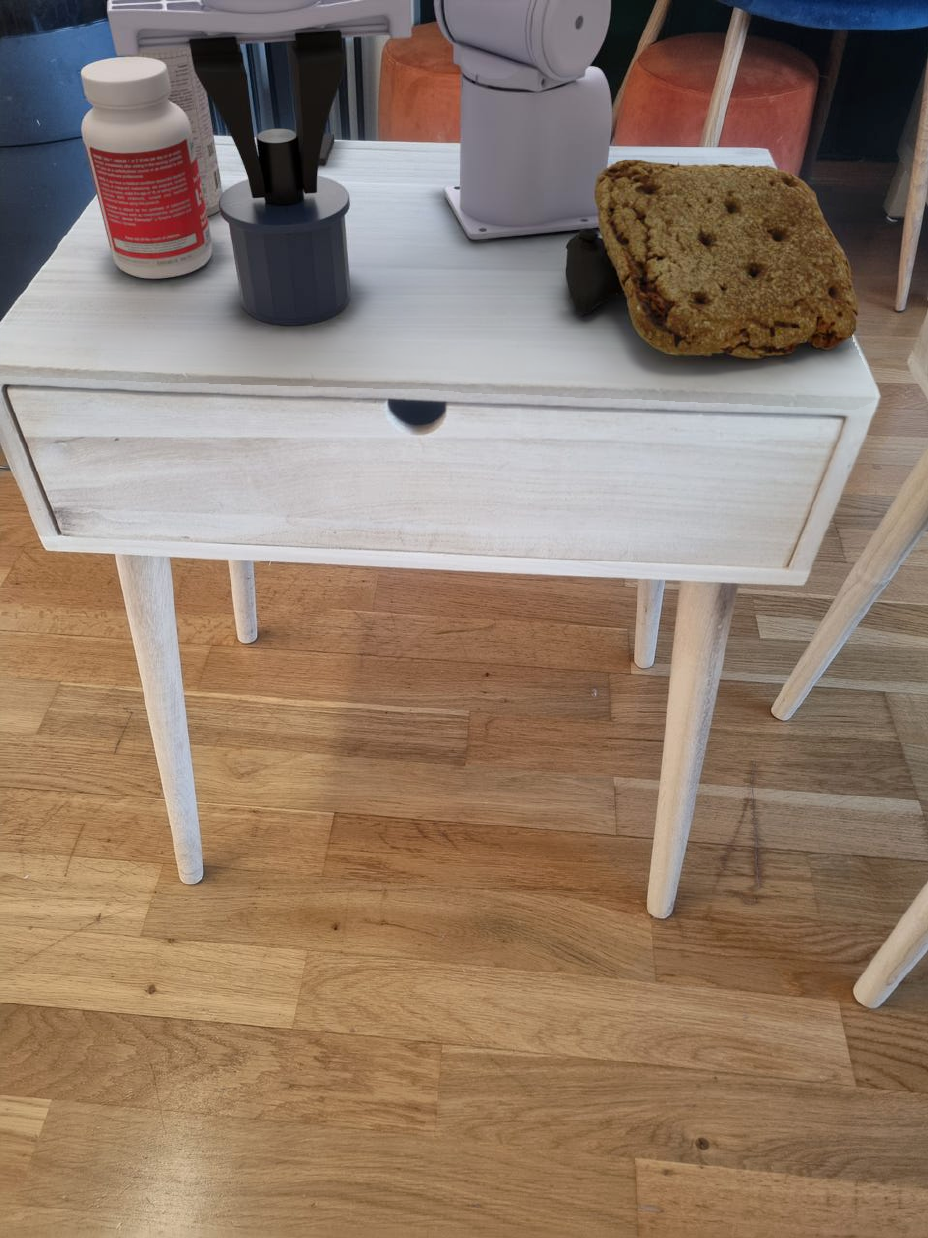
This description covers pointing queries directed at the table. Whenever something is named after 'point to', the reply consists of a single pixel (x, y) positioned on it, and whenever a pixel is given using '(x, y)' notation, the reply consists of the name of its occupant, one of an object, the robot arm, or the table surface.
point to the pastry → (724, 259)
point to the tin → (293, 274)
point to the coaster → (325, 148)
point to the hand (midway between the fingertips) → (283, 188)
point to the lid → (283, 193)
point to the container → (193, 116)
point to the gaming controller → (590, 272)
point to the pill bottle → (144, 169)
